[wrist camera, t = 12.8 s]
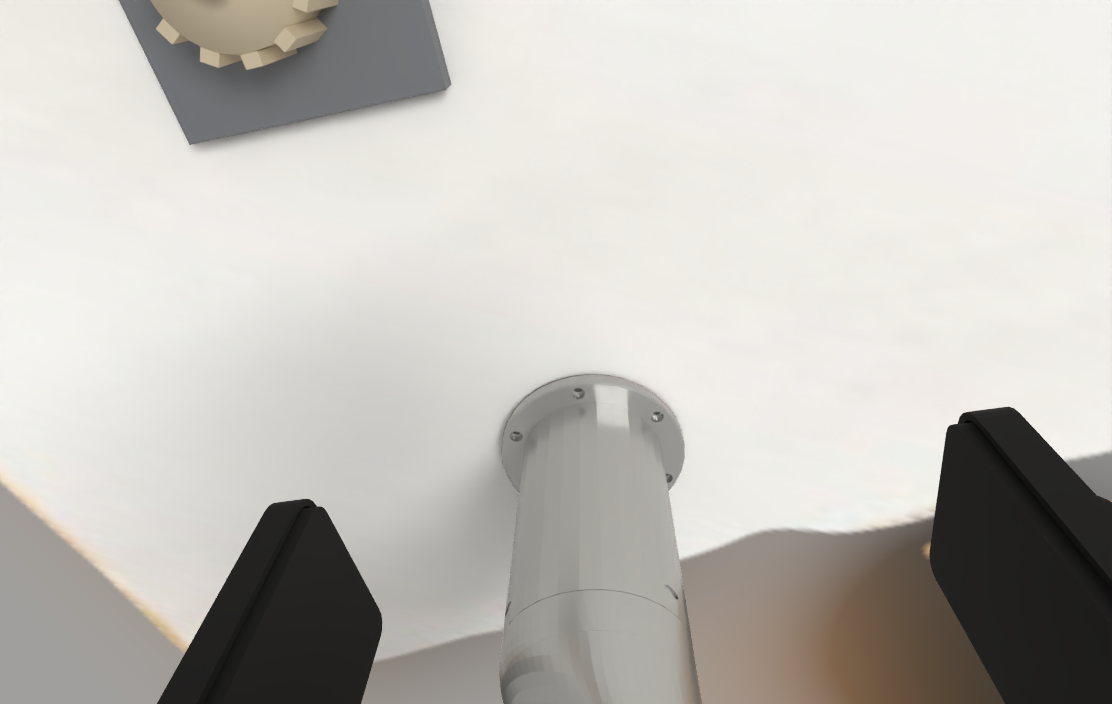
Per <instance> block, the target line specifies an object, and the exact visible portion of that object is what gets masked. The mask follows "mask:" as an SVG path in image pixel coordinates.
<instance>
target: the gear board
mask: <svg viewBox="0 0 1112 704" xmlns="http://www.w3.org/2000/svg"><path fill="white" fill-rule="evenodd" d="M119 1H120V3H121V5H122V8H123V10H124V12H125V14H126V16H127V18H128V20H129V22H130V24H131V26H132V28H133V30H134V32H135V34H136V36H137V38H138V40H139V42H140V44H141V46H142V48H143V50H144V52H145V54H146V56H147V59H148V61H149V63H150V65H151V67H152V69H153V71H154V73H155V75H156V77H157V79H158V81H159V83H160V85H161V87H162V89H163V91H164V93H165V95H166V97H167V99H168V101H169V103H170V105H171V107H172V110H173V112H174V114H175V116H176V118H177V120H178V122H179V124H180V126H181V128H182V130H183V132H184V134H185V136H186V138H187V140H188V142H189V144H190V145H191V144H196V143H200V142H205V141H210V140H214V139H219V138H223V137H228V136H233V135H237V134H242V133H247V132H251V131H256V130H261V129H265V128H270V127H274V126H279V125H284V124H288V123H293V122H298V121H302V120H307V119H312V118H316V117H321V116H326V115H330V114H335V113H339V112H344V111H349V110H353V109H358V108H363V107H367V106H372V105H377V104H381V103H386V102H390V101H395V100H400V99H404V98H409V97H414V96H418V95H423V94H428V93H432V92H437V91H441V90H446V89H447V88H448V87H449V86H450V85H451V81H450V78H449V74H448V70H447V66H446V63H445V59H444V55H443V52H442V48H441V44H440V41H439V37H438V33H437V29H436V26H435V22H434V18H433V15H432V11H431V7H430V4H429V0H119Z"/></svg>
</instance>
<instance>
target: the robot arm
mask: <svg viewBox="0 0 1112 704" xmlns="http://www.w3.org/2000/svg"><path fill="white" fill-rule="evenodd" d="M684 458H685V455H684V440H683V435H682V430H681V428H680V425H679V423H678V420H677V418H676V416H675V415H674V413H673V412H672V410H671V409H670V408H669V406H668V405H667V404H666V403H665V402H664V401H663V400H662V399H661V398H660V397H658V396H657V395H656V394H655V393H653V392H651V391H650V390H648V389H647V388H645V387H643V386H641V385H639V384H636V383H634V382H631V381H629V380H626V379H622V378H617V377H612V376H606V375H582V376H573V377H568V378H565V379H561V380H558V381H554V382H552V383H550V384H548V385H546V386H543V387H541V388H539V389H538V390H536V391H535V392H533V393H532V394H531V395H529V396H528V397H526V398H525V399H524V400H523V401H522V402H521V403H520V404H519V406H518V407H517V408H516V409H515V410H514V412H513V413H512V415H511V417H510V418H509V420H508V422H507V425H506V428H505V432H504V435H503V443H502V462H503V465H504V468H505V471H506V474H507V476H508V478H509V480H510V481H511V483H512V485H513V486H514V487H515V489H516V490H517V491H518V492H519V501H518V509H517V518H516V527H515V535H514V544H513V553H512V561H511V570H510V579H509V587H508V596H507V605H506V613H505V622H504V631H503V639H502V648H501V657H500V673H499V674H500V687H501V694H502V699H503V703H504V704H702V699H701V693H700V688H699V682H698V676H697V670H696V664H695V657H694V651H693V645H692V638H691V631H690V625H689V619H688V613H687V606H686V600H685V594H684V587H683V581H682V574H681V568H680V562H679V555H678V549H677V543H676V536H675V530H674V524H673V517H672V511H671V505H670V498H669V492H668V491H669V490H670V489H671V488H672V486H673V485H674V484H675V482H676V480H677V479H678V477H679V475H680V473H681V470H682V466H683V462H684ZM930 563H931V567H932V571H933V573H934V576H935V578H936V580H937V582H938V584H939V586H940V588H941V589H942V591H943V593H944V595H945V597H946V598H947V600H948V602H949V604H950V606H951V607H952V609H953V611H954V613H955V615H956V616H957V618H958V620H959V621H960V623H961V625H962V627H963V629H964V630H965V632H966V634H967V636H968V638H969V640H970V641H971V643H972V645H973V647H974V649H975V650H976V652H977V654H978V656H979V657H980V659H981V661H982V663H983V665H984V666H985V668H986V670H987V672H988V673H989V675H990V677H991V679H992V681H993V682H994V684H995V686H996V688H997V690H998V692H999V693H1000V695H1001V697H1002V699H1003V700H1004V702H1005V704H1112V502H1110V501H1109V500H1107V499H1104V498H1102V497H1100V496H1097V495H1096V494H1095V493H1094V492H1093V491H1092V490H1091V489H1090V488H1089V487H1088V486H1087V485H1086V484H1085V483H1084V482H1083V480H1082V479H1080V477H1078V475H1077V474H1076V473H1075V472H1074V471H1073V470H1072V469H1071V468H1070V467H1069V465H1068V464H1067V463H1066V462H1065V461H1064V460H1063V459H1062V458H1061V457H1060V456H1059V455H1058V454H1057V453H1056V452H1055V450H1054V449H1053V448H1052V447H1051V446H1050V445H1049V444H1048V443H1047V442H1046V441H1045V440H1044V439H1043V438H1042V437H1041V436H1040V434H1039V433H1038V432H1037V431H1036V430H1035V429H1034V428H1033V427H1032V426H1031V425H1030V424H1029V423H1028V422H1027V421H1026V419H1025V418H1024V417H1023V416H1022V415H1021V414H1020V413H1019V412H1018V411H1016V410H1015V409H1014V408H1011V407H1003V408H995V409H987V410H980V411H972V412H966V413H963V414H962V415H961V416H960V418H959V422H958V424H954V425H950V426H949V427H948V429H947V432H946V439H945V446H944V453H943V461H942V468H941V475H940V482H939V489H938V496H937V503H936V511H935V518H934V525H933V532H932V539H931V546H930ZM381 632H382V617H381V613H380V610H379V608H378V606H377V604H376V602H375V601H374V599H373V597H372V595H371V593H370V591H369V589H368V588H367V586H366V584H365V582H364V580H363V578H362V576H361V575H360V573H359V571H358V569H357V567H356V565H355V563H354V562H353V560H352V558H351V556H350V554H349V552H348V550H347V549H346V547H345V545H344V543H343V541H342V539H341V537H340V536H339V534H338V532H337V530H336V528H335V526H334V524H333V523H332V521H331V519H330V517H329V515H328V513H327V512H326V510H325V509H324V508H323V507H317V506H316V505H315V503H314V502H313V501H311V500H310V499H301V500H294V501H286V502H278V503H273V504H271V505H270V506H269V507H268V508H267V509H266V511H265V512H264V514H263V516H262V517H261V519H260V521H259V523H258V525H257V526H256V528H255V530H254V532H253V533H252V535H251V537H250V539H249V541H248V542H247V544H246V546H245V548H244V550H243V551H242V553H241V555H240V557H239V558H238V560H237V562H236V564H235V566H234V567H233V569H232V571H231V573H230V574H229V576H228V578H227V580H226V582H225V583H224V585H223V587H222V589H221V591H220V592H219V594H218V596H217V598H216V599H215V601H214V603H213V605H212V607H211V608H210V610H209V612H208V614H207V615H206V617H205V619H204V621H203V623H202V624H201V626H200V628H199V630H198V632H197V633H196V635H195V637H194V639H193V640H192V642H191V644H190V646H189V648H188V649H187V651H186V653H185V655H184V657H183V658H182V660H181V662H180V664H179V665H178V667H177V669H176V671H175V673H174V674H173V676H172V678H171V680H170V681H169V683H168V685H167V687H166V689H165V690H164V692H163V694H162V696H161V698H160V700H159V701H158V703H157V704H361V701H362V698H363V695H364V691H365V688H366V684H367V681H368V678H369V674H370V671H371V667H372V664H373V661H374V657H375V654H376V650H377V647H378V643H379V640H380V637H381Z"/></svg>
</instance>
